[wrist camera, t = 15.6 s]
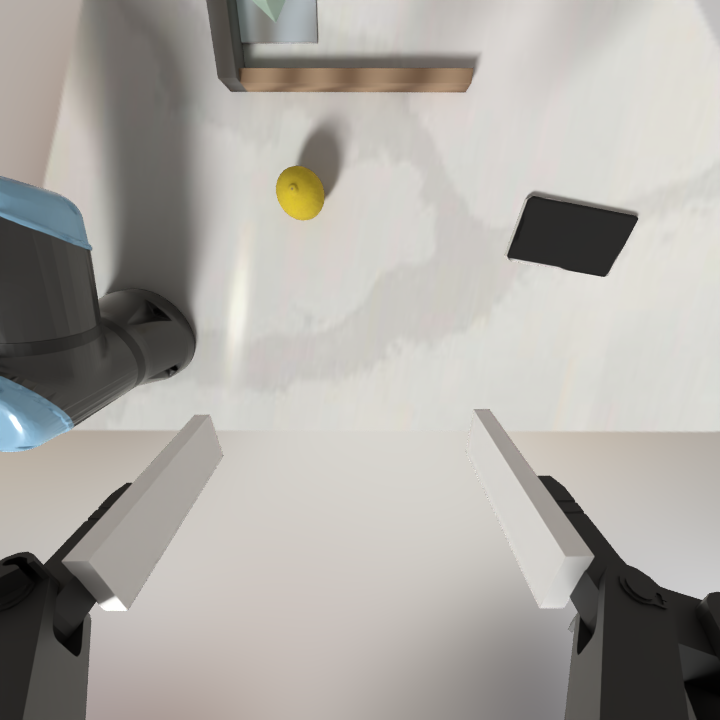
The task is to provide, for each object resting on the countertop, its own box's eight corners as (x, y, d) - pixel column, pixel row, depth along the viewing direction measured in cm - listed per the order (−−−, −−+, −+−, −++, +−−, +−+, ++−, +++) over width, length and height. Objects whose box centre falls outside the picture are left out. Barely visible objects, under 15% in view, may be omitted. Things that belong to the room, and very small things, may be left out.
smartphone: (607, 278, 38) (505, 260, 38) (600, 277, 39) (501, 259, 39) (640, 215, 35) (529, 193, 34) (632, 215, 36) (524, 195, 35)
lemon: (314, 165, 35) (299, 145, 27) (336, 208, 36) (327, 200, 29) (279, 189, 36) (256, 176, 29) (302, 230, 38) (285, 227, 30)
